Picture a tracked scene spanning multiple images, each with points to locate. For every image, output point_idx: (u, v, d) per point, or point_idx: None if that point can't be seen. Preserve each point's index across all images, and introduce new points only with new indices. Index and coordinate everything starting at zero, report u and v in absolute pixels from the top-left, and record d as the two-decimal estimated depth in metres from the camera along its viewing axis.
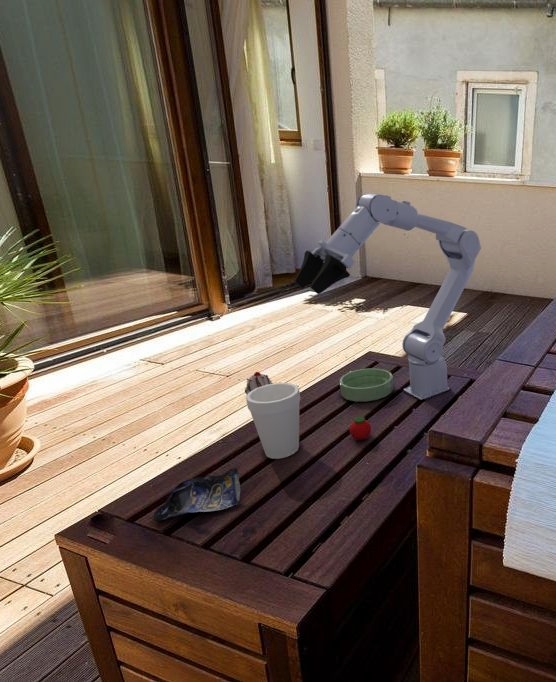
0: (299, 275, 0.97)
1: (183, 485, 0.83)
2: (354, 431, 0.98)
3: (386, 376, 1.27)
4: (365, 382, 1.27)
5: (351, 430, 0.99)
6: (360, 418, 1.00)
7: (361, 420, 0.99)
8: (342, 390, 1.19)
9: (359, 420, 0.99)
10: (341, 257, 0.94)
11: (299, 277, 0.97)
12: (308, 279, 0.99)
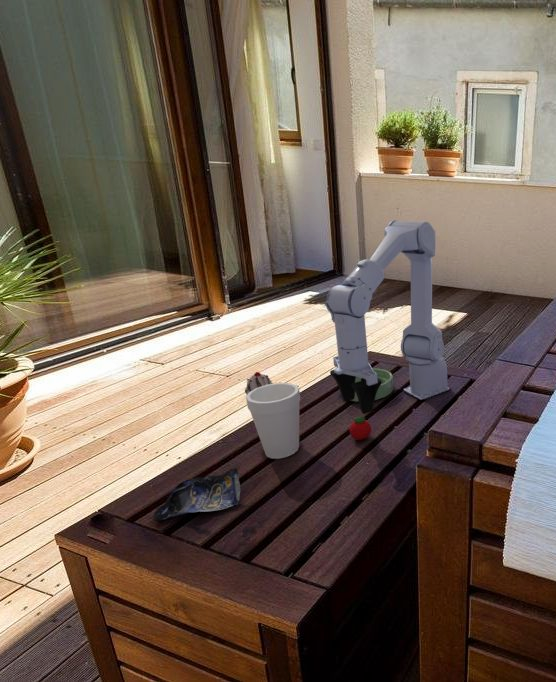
0: (343, 395, 1.00)
1: (183, 485, 0.83)
2: (354, 431, 0.98)
3: (386, 376, 1.27)
4: None
5: (351, 430, 0.99)
6: (360, 418, 1.00)
7: (361, 420, 0.99)
8: None
9: (359, 420, 0.99)
10: None
11: (345, 396, 1.00)
12: (352, 389, 1.01)
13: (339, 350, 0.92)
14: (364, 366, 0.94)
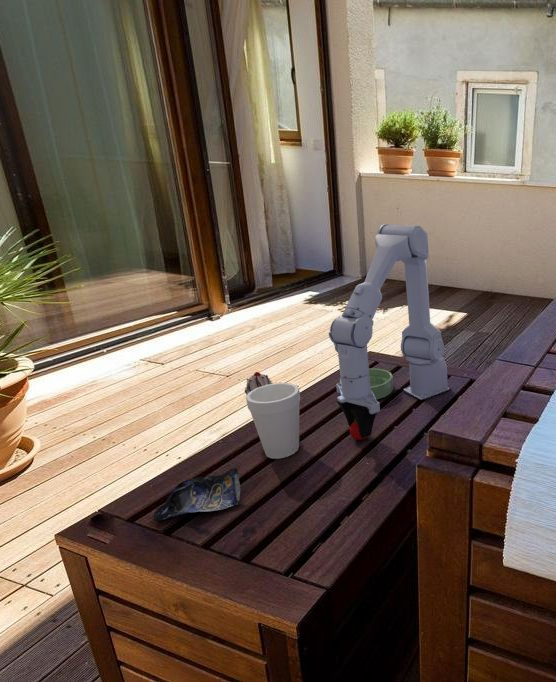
0: (350, 423, 1.01)
1: (183, 485, 0.83)
2: (354, 431, 0.98)
3: (386, 376, 1.27)
4: None
5: (351, 430, 0.99)
6: None
7: None
8: None
9: None
10: None
11: None
12: None
13: (342, 379, 0.94)
14: (367, 394, 0.96)
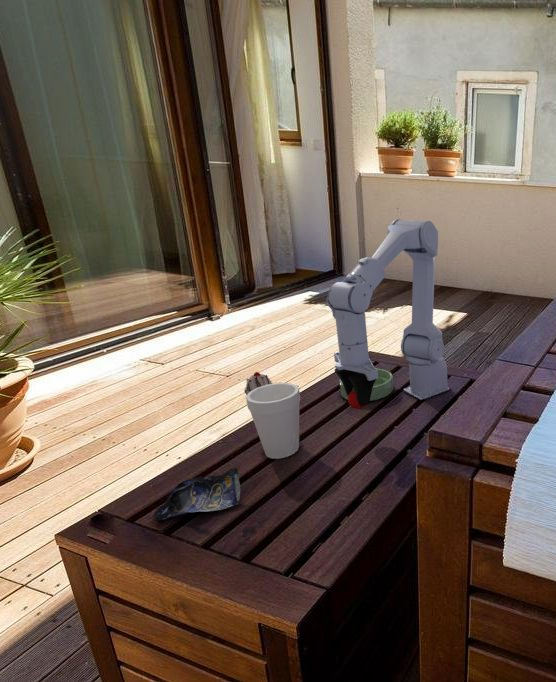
0: (348, 393, 1.00)
1: (183, 485, 0.83)
2: (352, 399, 0.98)
3: (386, 376, 1.27)
4: None
5: (349, 399, 0.98)
6: None
7: None
8: (342, 390, 1.19)
9: None
10: None
11: None
12: None
13: (340, 346, 0.94)
14: (365, 362, 0.96)
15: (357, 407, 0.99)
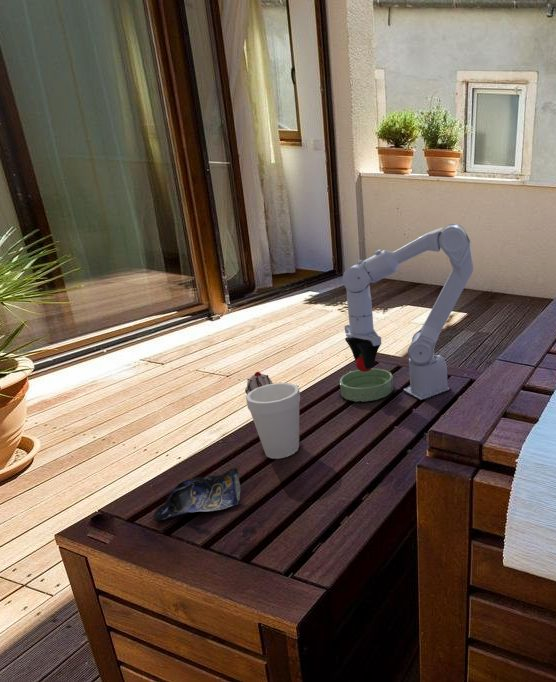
0: (356, 358, 1.21)
1: (183, 485, 0.83)
2: (360, 363, 1.18)
3: (386, 376, 1.27)
4: (365, 382, 1.27)
5: (357, 363, 1.19)
6: None
7: None
8: (342, 390, 1.19)
9: None
10: None
11: None
12: None
13: (350, 318, 1.14)
14: (370, 331, 1.16)
15: (363, 369, 1.19)
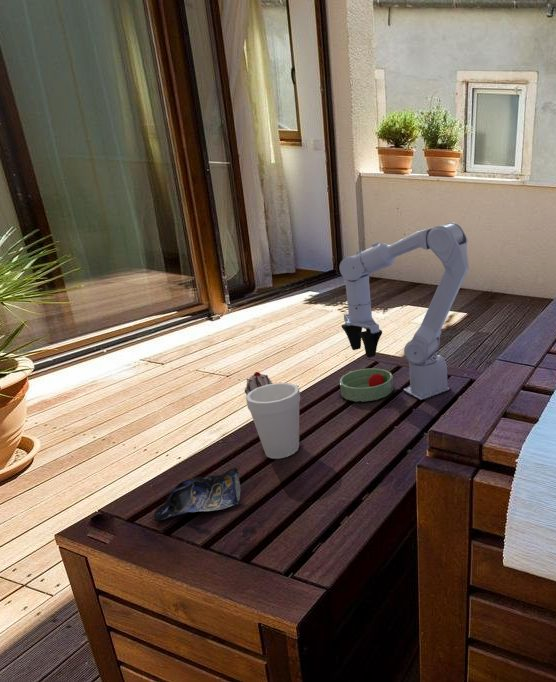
0: (352, 344, 1.25)
1: (183, 485, 0.83)
2: (377, 381, 1.21)
3: (386, 376, 1.27)
4: (365, 382, 1.27)
5: (376, 377, 1.21)
6: (386, 379, 1.23)
7: None
8: (342, 390, 1.19)
9: (386, 380, 1.22)
10: None
11: (353, 345, 1.26)
12: (358, 340, 1.27)
13: (349, 306, 1.18)
14: (368, 319, 1.20)
15: (372, 386, 1.21)
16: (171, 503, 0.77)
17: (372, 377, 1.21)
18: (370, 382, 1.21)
